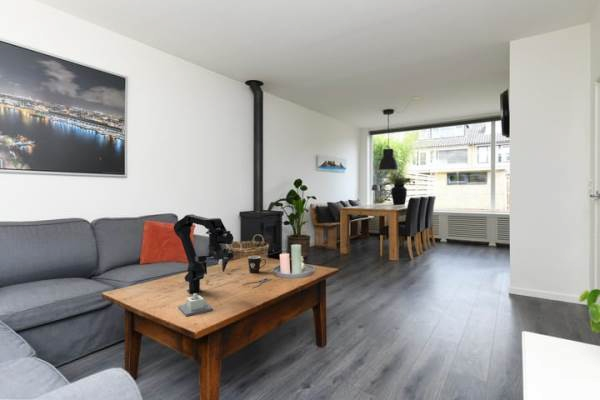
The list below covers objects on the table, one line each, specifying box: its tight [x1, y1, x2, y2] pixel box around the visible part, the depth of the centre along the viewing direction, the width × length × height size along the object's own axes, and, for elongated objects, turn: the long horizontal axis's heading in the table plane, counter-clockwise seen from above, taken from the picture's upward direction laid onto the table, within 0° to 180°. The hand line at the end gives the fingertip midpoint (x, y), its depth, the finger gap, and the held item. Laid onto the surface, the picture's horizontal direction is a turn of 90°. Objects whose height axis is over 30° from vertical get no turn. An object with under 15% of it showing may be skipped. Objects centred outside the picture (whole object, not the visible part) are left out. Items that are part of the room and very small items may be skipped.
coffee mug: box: [247, 255, 267, 274], centre depth 211 cm, size 12×9×10 cm
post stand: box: [177, 292, 214, 317], centre depth 145 cm, size 12×12×7 cm
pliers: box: [241, 277, 272, 289], centre depth 188 cm, size 10×1×20 cm
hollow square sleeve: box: [186, 295, 205, 310], centre depth 145 cm, size 6×6×4 cm
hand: (214, 273), depth 163 cm, fingers open, 9 cm apart
